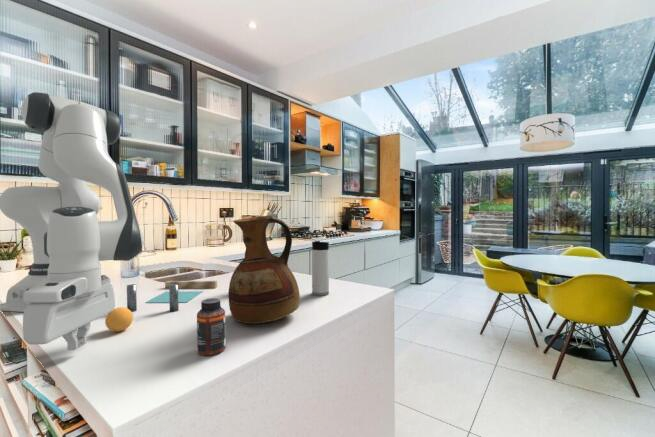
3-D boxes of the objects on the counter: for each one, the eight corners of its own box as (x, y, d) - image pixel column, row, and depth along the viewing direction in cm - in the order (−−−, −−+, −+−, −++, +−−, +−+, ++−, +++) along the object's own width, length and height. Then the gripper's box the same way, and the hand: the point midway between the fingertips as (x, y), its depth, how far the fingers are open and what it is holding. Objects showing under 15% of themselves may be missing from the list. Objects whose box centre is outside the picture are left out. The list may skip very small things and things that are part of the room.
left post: (125, 312, 95) (124, 286, 95) (130, 309, 98) (129, 284, 98) (133, 312, 95) (133, 286, 95) (138, 309, 98) (137, 284, 98)
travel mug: (308, 295, 114) (308, 240, 113) (316, 290, 120) (316, 239, 119) (324, 297, 111) (324, 241, 111) (331, 292, 118) (331, 239, 117)
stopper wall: (165, 288, 124) (165, 282, 124) (167, 287, 126) (167, 281, 126) (215, 288, 124) (215, 281, 124) (217, 286, 126) (217, 280, 126)
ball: (99, 335, 78) (99, 311, 77) (115, 326, 84) (115, 304, 83) (124, 335, 78) (123, 311, 78) (138, 326, 84) (137, 304, 84)
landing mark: (144, 303, 105) (144, 302, 105) (165, 292, 119) (165, 291, 119) (186, 302, 105) (186, 302, 105) (202, 291, 119) (202, 291, 119)
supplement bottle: (231, 346, 71) (230, 297, 71) (213, 358, 65) (213, 305, 65) (209, 343, 73) (209, 295, 73) (191, 354, 67) (190, 302, 67)
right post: (168, 311, 96) (167, 286, 95) (172, 309, 98) (171, 284, 98) (176, 311, 96) (175, 285, 95) (180, 309, 98) (179, 284, 98)
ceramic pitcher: (225, 311, 95) (224, 214, 95) (288, 304, 103) (288, 214, 102) (232, 335, 77) (231, 215, 77) (309, 323, 85) (308, 215, 84)
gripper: (96, 273, 77) (97, 328, 77) (13, 296, 56) (16, 371, 57) (121, 273, 77) (123, 328, 77) (49, 296, 56) (51, 371, 57)
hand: (77, 347), depth 67 cm, fingers closed
